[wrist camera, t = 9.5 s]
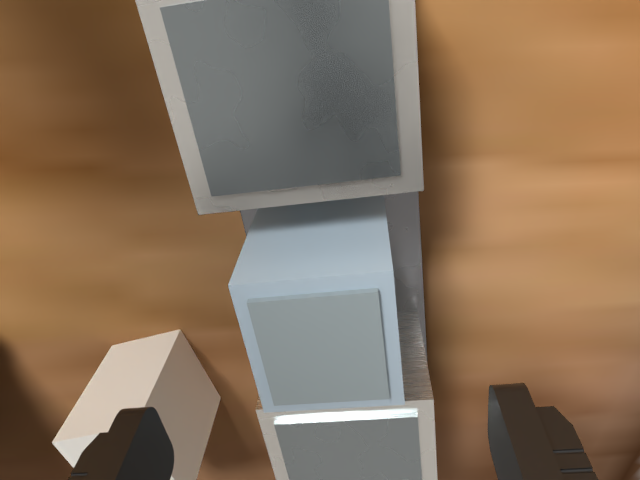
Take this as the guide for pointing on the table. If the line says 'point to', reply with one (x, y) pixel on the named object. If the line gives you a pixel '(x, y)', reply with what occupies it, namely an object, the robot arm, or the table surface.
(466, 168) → the table surface
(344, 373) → the block
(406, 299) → the grey notched bar
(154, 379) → the block
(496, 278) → the table surface
